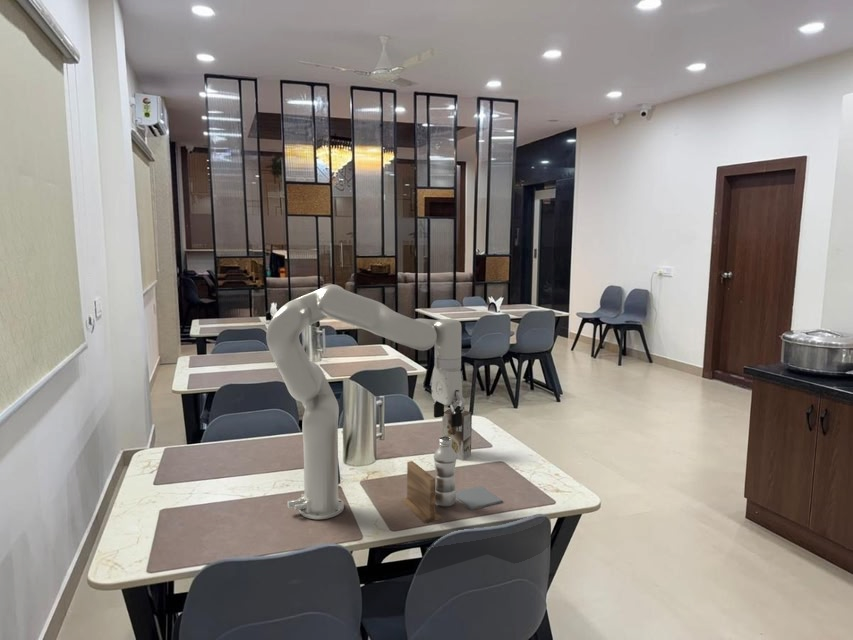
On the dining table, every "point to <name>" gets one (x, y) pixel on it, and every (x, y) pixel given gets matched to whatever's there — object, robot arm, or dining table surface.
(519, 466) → the dining table surface
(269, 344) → the robot arm
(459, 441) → the coffee box
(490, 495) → the mat
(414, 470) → the wooden stand
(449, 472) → the plastic bottle
